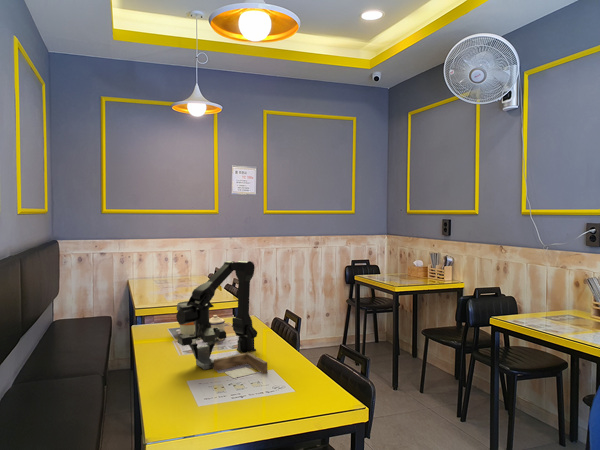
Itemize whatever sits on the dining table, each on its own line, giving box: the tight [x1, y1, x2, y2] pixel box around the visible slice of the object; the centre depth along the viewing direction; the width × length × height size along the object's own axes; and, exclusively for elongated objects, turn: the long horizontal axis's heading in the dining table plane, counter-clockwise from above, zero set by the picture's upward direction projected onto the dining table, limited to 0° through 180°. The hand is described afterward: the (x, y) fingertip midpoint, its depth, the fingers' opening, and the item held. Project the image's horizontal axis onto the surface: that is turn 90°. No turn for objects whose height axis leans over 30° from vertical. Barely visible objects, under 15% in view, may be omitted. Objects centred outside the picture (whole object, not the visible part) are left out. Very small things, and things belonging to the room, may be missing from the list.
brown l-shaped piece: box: [213, 352, 269, 375], centre depth 178 cm, size 15×15×4 cm
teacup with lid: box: [209, 314, 226, 342], centre depth 222 cm, size 12×9×12 cm
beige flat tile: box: [223, 366, 257, 379], centre depth 176 cm, size 10×8×1 cm
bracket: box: [195, 344, 214, 370], centre depth 184 cm, size 8×5×7 cm, turn 35°
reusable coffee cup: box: [176, 300, 198, 336], centre depth 235 cm, size 13×13×15 cm
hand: (202, 358), depth 186 cm, fingers closed on bracket, 5 cm apart
